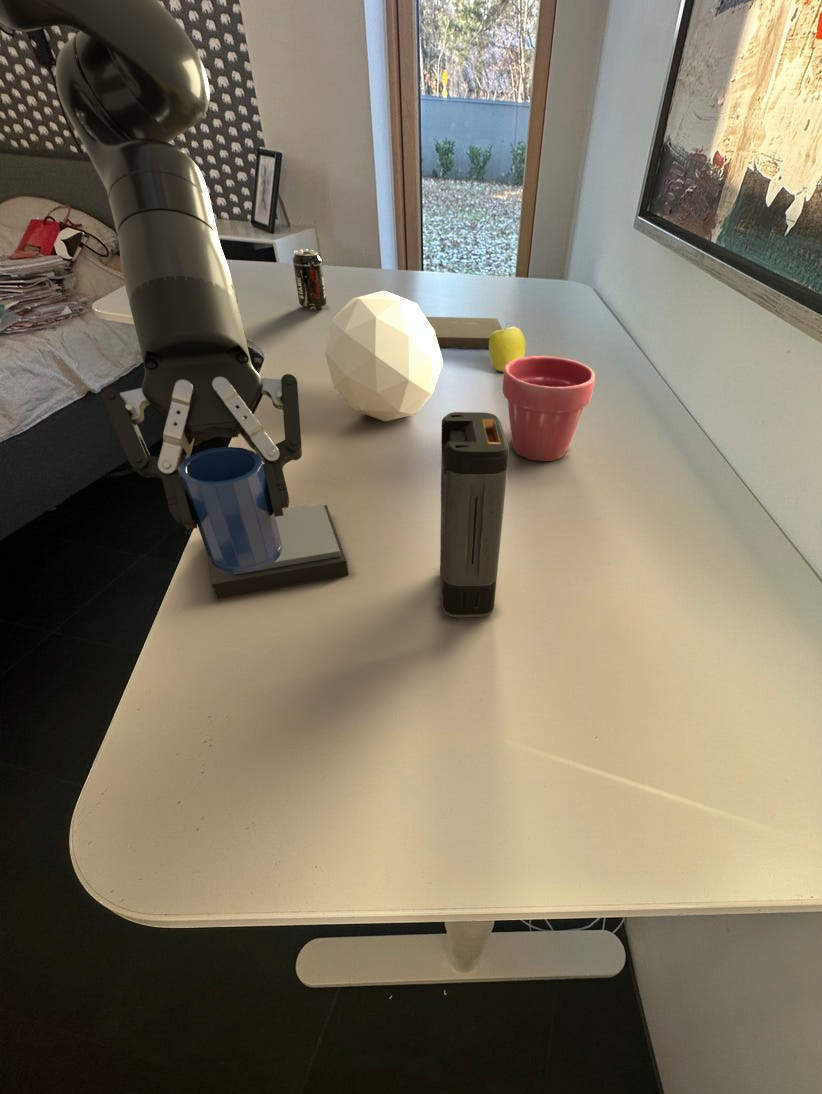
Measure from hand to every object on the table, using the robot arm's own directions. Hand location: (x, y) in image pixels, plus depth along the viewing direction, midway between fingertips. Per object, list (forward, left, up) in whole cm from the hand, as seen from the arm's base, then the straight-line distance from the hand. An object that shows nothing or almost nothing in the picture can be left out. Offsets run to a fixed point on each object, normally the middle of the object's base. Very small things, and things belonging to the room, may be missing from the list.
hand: (235, 519), depth 44 cm
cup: (0, +2, -4) cm, 5 cm away
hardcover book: (+52, +97, -19) cm, 112 cm away
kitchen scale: (+2, +21, -18) cm, 28 cm away
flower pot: (+47, +39, -19) cm, 64 cm away
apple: (+56, +75, -19) cm, 95 cm away
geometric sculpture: (+26, +59, -19) cm, 67 cm away
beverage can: (+24, +127, -19) cm, 130 cm away
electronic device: (+22, +7, -19) cm, 30 cm away
